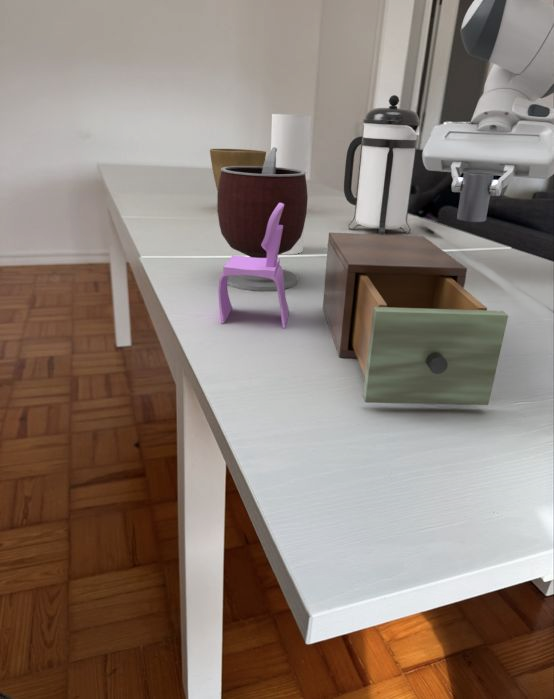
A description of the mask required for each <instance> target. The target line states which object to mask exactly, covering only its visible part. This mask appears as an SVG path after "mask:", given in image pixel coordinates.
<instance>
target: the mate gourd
mask: <svg viewBox="0 0 554 699" xmlns="http://www.w3.org/2000/svg"><path fill="white" fill-rule="evenodd" d="M276 152H277V148H276V147H273V148H272V150H271V149H270V150H269V153H268V154H267V155H266V157H265V162H264V165H263V166H231V167H223V168H221V175H220V179H219V186H218V191H217V193H216V194H217V195H216V196H217V207H216V208H217V209H216V210H217V216H218V224H219V225H218V226H219V229H220V233H221V235H222V237H223V238H224V239H225V241H226V243H227V244H228V245H229V247H230V248H231V249H233V250H235V251H237V252H239V253H241V254H244V255H245V256H247V257H253V258H267V252H266V250H265V249H263V247H262V246H261V244H262V242H263V240H264V237H265V234H266V230H267V225H268V221H269V219H270V216H271V214H272V213H273V211H274V209H275V208H276V207H277V205H278V204H279V203H283V204H284V208H283V211H282V214H281V217H280V220H279V224H278V225H283V230H282V235H281V241H280V247H279V252H278V256H279V255H283V254H282V253H284V252H287V251H289V250H291V249H292V248H293V246H294V245H295V244H296V243H297V241H298V240H299V239H300V238H301V235H302V232H303V228H304V229H305V223H306V219H307V213H308V196H309V195H308V182H307V183H306V177H305V174H306V172H305V171H302V170H296V169H289V168H279V167H276ZM282 270H283V277H284V289H285V290H286V289H290V288H293V287H294V286H296V285H297V284H298V276H297V274H295V273H294V272H292V271H291V270H287V269H284V268H282ZM227 286H230V287H232V288H236V289H239V290H240V289H241V290H248V291H257V292H258V291H259V292H271V291H278V290H277V286H276V283H275V282H274V281H273V280H272V279H270V278H264V277H258V276H252V275H228V282H227Z"/></svg>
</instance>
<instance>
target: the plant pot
mask: <svg viewBox="0 0 554 699" xmlns="http://www.w3.org/2000/svg"><path fill="white" fill-rule="evenodd" d="M209 156H210V163H211V170H212V174H213V178H214V179H213V180H214V183H215V187H216V191H217V192H218V186H219V179H220V175H221V168H223V167H231V166H263V165H264V162H265V159H266V157H267V151H266V150H259V149H258V150H257V149H247V148H246V149H245V148H243V149H242V148H210V149H209Z"/></svg>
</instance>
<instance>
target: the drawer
mask: <svg viewBox="0 0 554 699" xmlns="http://www.w3.org/2000/svg"><path fill="white" fill-rule="evenodd" d="M355 273H356V272H355ZM508 319H509V315H508V314H507V313H506V312H505V311H503V310H489V309H488V307H487V306H486V305H484V303H482V302H481V301H480V300H478V299H477V298H476V297H475V296H473V294H471V293H470V292H469V291H468V290H466V289H465V287H464V288H463V287H462V286H460V285H459V284H458V283H457V282H456V281H454V280H453V279H452V278H451V277H450V276H444V275H415V274H385V273H356V275H355V285H354V295H353V304H352V314H351V324H350V333H349V339H350V342H351V344H352V347H353V349H354V351H355V354H356V356H357V358H356V359H357V361H358V363H359V366H360V368H361V371H362V373H363V376H364V384H363V391H362V392H363V393H362V398H363V400H364V403H373V404H374V403H375V404H411V405H412V404H414V405H416V404H417V405H419V404H421V405H425V404H426V405H456V406H457V405H458V406H460V405H461V406H467V405H468V406H489V405H490V399H491V396H492V390H493V386H494V381H495V378H496V377H495V376H496V373H497V367H498V364H499V359H500V355H501V350H502V347H503V346H502V345H503V342H504V336H505V332H506V327H507V323H508Z"/></svg>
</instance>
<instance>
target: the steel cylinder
mask: <svg viewBox="0 0 554 699" xmlns="http://www.w3.org/2000/svg"><path fill="white" fill-rule="evenodd" d="M494 176H495V175H494V174H490V173H478V172H465V173H463V176H462V177H463V182H462V188H461V192H460V195H459V202H458V209H457V216H456V219H457V220H459V221H464V222H471V223H483V222H486V221H487V215H488V210H489V204H490V199H491V198H490V197H491V195H489V193H490V192H489V188H490V185H491V182H492V180H494Z"/></svg>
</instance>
